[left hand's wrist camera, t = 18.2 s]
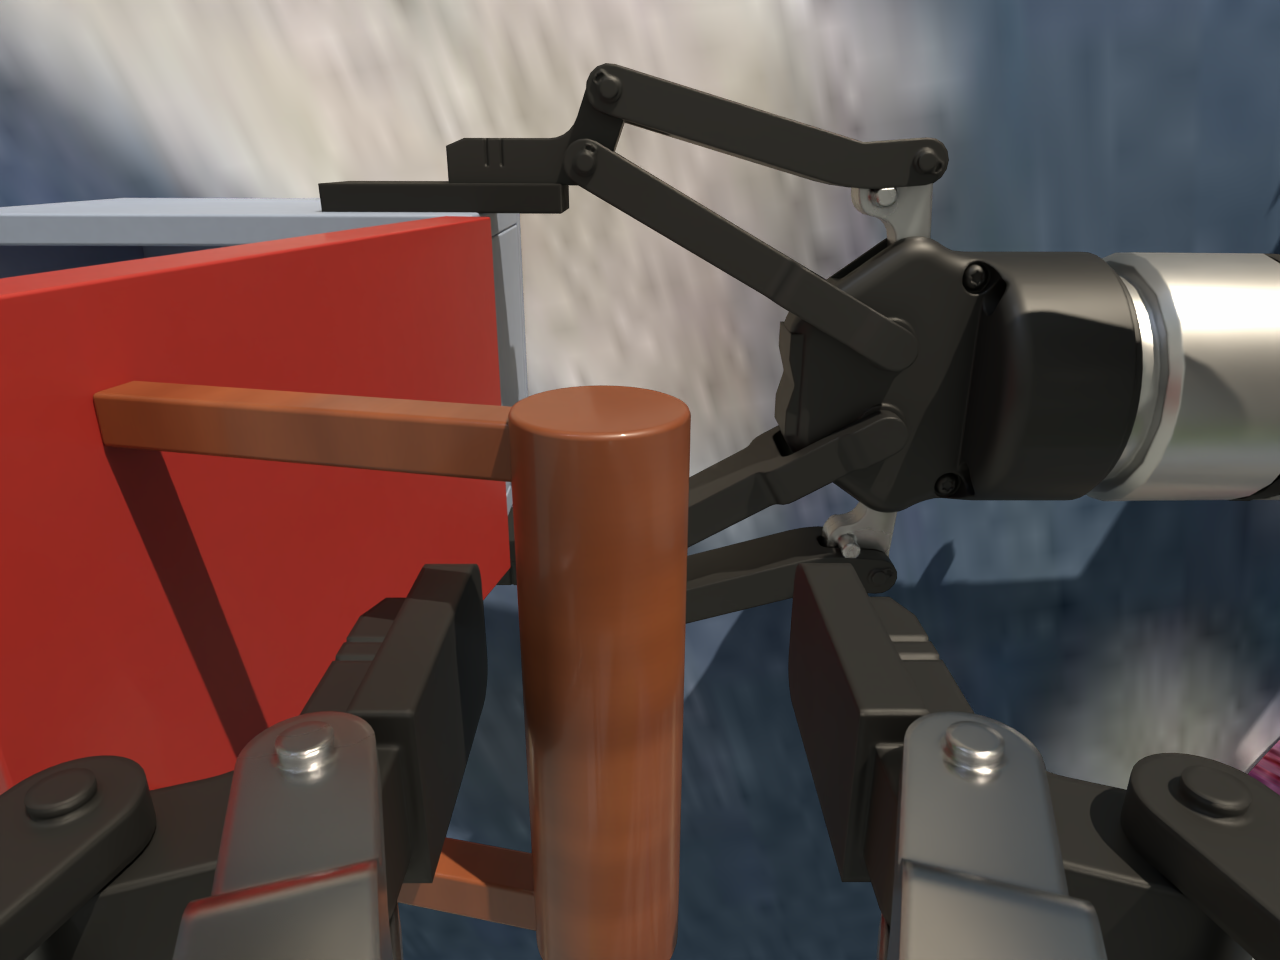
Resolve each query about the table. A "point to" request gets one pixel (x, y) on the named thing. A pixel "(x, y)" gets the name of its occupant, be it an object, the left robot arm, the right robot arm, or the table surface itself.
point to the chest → (192, 224)
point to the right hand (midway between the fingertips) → (358, 377)
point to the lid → (342, 541)
